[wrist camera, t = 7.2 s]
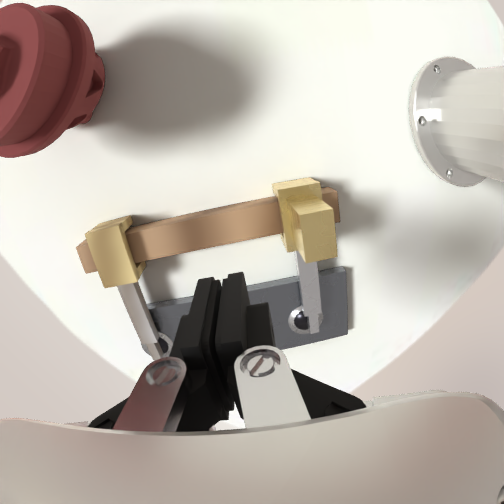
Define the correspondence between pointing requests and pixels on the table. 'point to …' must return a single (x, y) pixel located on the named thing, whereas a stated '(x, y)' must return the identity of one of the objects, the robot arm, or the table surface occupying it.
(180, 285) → the table surface
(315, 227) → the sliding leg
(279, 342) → the hole plate
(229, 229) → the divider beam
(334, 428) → the robot arm
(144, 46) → the table surface
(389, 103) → the table surface
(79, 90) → the mechanical component
